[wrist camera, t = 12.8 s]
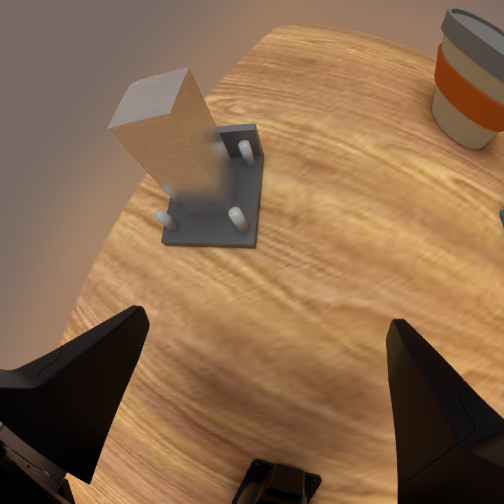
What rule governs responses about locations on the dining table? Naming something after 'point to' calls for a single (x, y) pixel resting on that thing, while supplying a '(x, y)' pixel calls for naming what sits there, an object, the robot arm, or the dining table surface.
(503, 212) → the ink box
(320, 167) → the dining table surface
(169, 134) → the silver tall square block
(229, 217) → the drive dock
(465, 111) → the reusable coffee cup
